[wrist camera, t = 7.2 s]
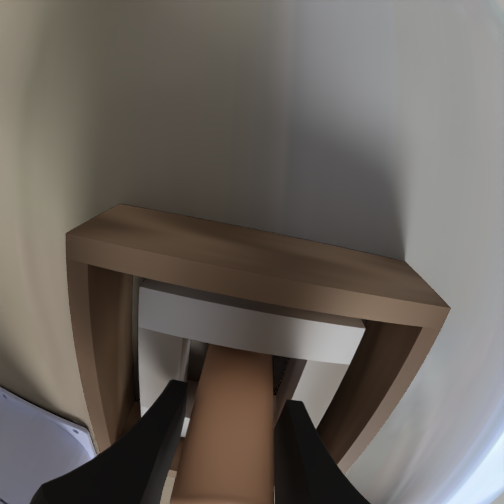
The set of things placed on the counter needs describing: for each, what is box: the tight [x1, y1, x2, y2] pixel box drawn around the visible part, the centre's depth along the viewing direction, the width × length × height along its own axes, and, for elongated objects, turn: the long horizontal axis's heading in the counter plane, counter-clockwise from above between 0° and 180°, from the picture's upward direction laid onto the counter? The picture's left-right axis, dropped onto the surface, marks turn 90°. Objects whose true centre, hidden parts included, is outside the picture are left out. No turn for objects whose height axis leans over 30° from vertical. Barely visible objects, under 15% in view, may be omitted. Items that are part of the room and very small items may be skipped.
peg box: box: [66, 204, 451, 492], centre depth 12 cm, size 12×12×4 cm
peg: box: [170, 343, 274, 504], centre depth 10 cm, size 3×3×8 cm
